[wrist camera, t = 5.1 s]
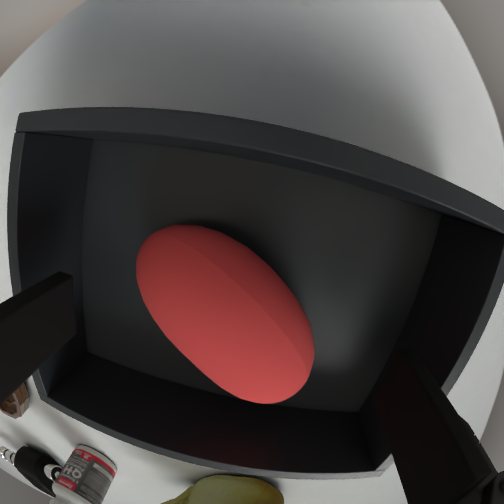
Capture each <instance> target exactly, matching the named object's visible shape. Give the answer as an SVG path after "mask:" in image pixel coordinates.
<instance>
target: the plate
mask: <svg viewBox="0 0 504 504" xmlns="http://www.w3.org/2000/svg"><path fill="white" fill-rule="evenodd" d="M28 408H29V395H28V392H27V389H26V387H25V384H24V383H23V384H22V385H21V386H20V387H19V388H18V389H17V390H16V391H15V392H14V393H13V394H12V395H11V396H10V397H9V398H8V399H7V400H6V401H5V402H4V403H3V404H2V405H1V406H0V410H1V411H2V412H3V413H4V414H6V415H8V416H11V417H13V418H15V419H16V418H18V417H21V416H22V415H23V414H24V413H25V411H26V410H27V409H28Z"/></svg>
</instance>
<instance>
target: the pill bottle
mask: <svg viewBox="0 0 504 504" xmlns="http://www.w3.org/2000/svg"><path fill="white" fill-rule="evenodd" d="M116 472H117V470H116V467H115V465H114V464H113V463H112V462H111V461H110V460H109V459H108V458H106V457H105V456H103V455H102V454H101V453H99V452H97V451H95V450H93V449H91V448H89V447H87V446H83V445H79V446H77V447H76V448H75V450H74V451H73V452H72V454H71V456H70V457H69V459H68V460H67V462H66V464H65V465H64V467H63V469H62V470H61V472H60V473H59V475H58V477H57V478H56V480H55V481H54V483H53V485H52V490H53V492H54V493H55V494H56V497H55V498H52V499H51V500H50V502H49V504H102V501H103V499H104V497H105V495H106V493H107V491H108V489H109V487H110V484H111V482H112V480H113V479H114V476H115V474H116Z"/></svg>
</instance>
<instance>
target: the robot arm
mask: <svg viewBox="0 0 504 504" xmlns="http://www.w3.org/2000/svg"><path fill="white" fill-rule="evenodd" d="M76 333H77V329H76V319H75V307H74V291H73V275H70V274H67V273H64V272H61V271H59V272H57V273H55V274H53V275H51V276H49V277H47V278H45V279H43V280H42V281H40V282H38V283H36V284H34V285H32V286H30V287H29V288H27V289H25V290H23V291H21V292H20V293H18V294H16V295H14V296H13V297H11V298H9V299H7V300H6V301H4V302H2V303H1V304H0V406H1V405H2V404H3V403H4V402H5V401H6V400H7V399H8V398H9V397H10V396H11V395H12V394H13V393H14V392H15V391H16V390H17V389H18V388H19V387H20V386H21V385H22V384H23V383H24V382H25V381H26V380H27V379H28V378H29V377H30V376H31V375H32V374H33V373H34V372H35V371H36V370H37V369H38V368H39V367H40V366H41V365H42V364H43V363H44V362H45V361H47V360H48V359H49V358H50V357H51V356H52V355H53V354H54V353H55V352H56V351H57V350H58V349H60V348H61V347H62V346H63V345H64V344H65V343H66V342H67V341H68V340H69V339H71V338H72V337H73V336H74V335H75V334H76ZM371 400H372V402H373V405H374V408H375V410H376V413H377V415H378V418H379V421H380V423H381V426H382V429H383V431H384V434H385V437H386V439H387V442H388V445H389V448H390V450H391V453H392V456H393V459H394V462H395V465H396V468H397V471H398V474H399V477H400V480H401V483H402V486H403V489H404V492H405V495H406V498H407V502H408V504H504V471H502V472H500V473H498V472H497V471H496V469H495V468H494V466H493V464H492V462H491V460H490V459H489V457H488V455H487V453H486V452H485V450H484V448H483V447H482V445H481V443H480V444H479V440H478V438H477V437H476V435H475V436H474V434H475V433H474V432H473V430H472V429H471V427H470V425H469V424H468V423H467V422H466V421H465V420H464V419H463V418H462V417H460V416H459V415H458V413H457V412H456V410H455V409H454V407H453V406H452V404H451V403H450V401H449V400H448V398H447V397H446V395H445V394H444V392H443V391H442V389H441V388H440V386H439V385H438V383H437V382H436V381H435V379H434V378H433V376H432V375H431V373H430V372H429V371H428V369H427V368H426V366H425V365H424V364H423V362H422V361H421V359H420V358H419V357H418V355H417V354H416V353H415V351H414V350H413V349H403V348H398V350H397V352H396V354H395V356H394V358H393V360H392V362H391V364H390V366H389V368H388V370H387V372H386V374H385V376H384V377H383V379H382V381H381V383H380V385H379V386H378V388H377V390H376V392H375V393H374V395H373V397H372V398H371Z"/></svg>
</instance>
